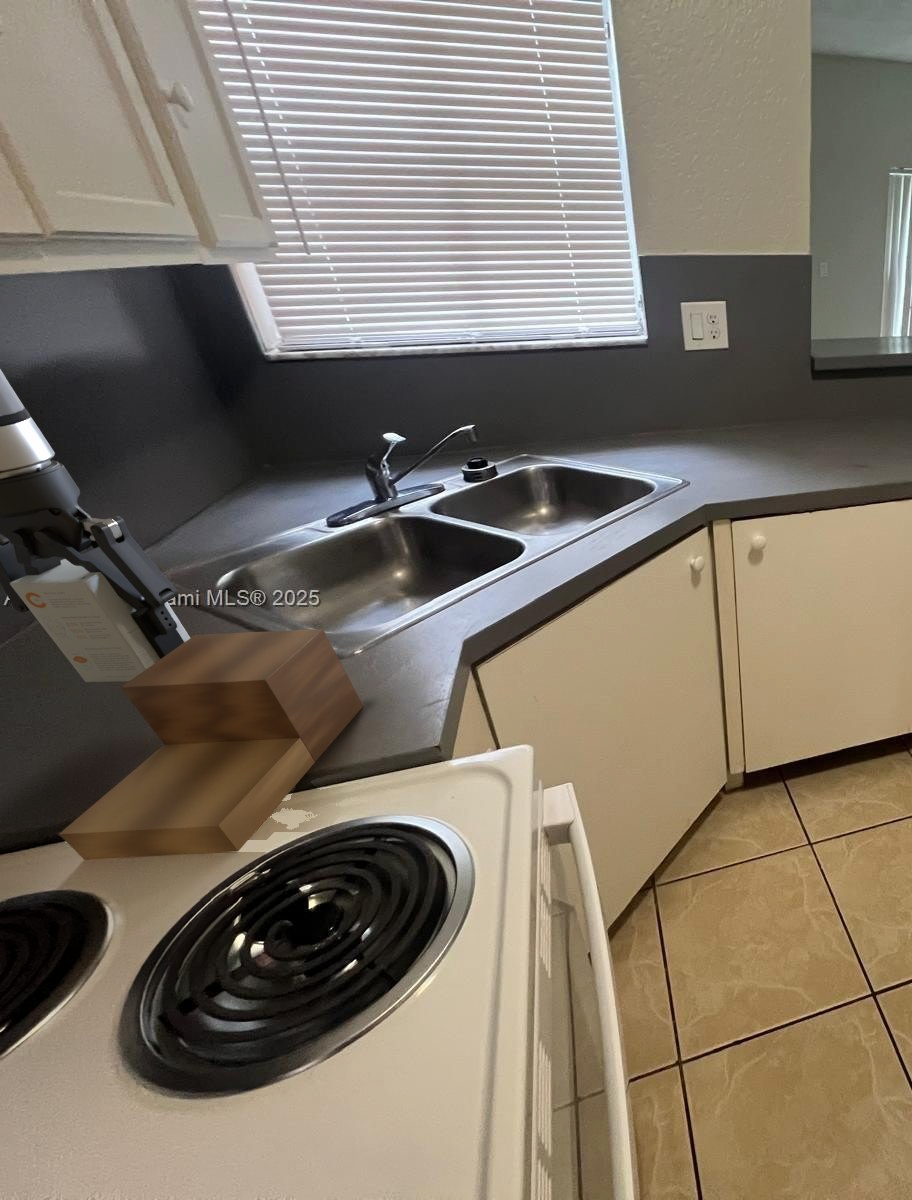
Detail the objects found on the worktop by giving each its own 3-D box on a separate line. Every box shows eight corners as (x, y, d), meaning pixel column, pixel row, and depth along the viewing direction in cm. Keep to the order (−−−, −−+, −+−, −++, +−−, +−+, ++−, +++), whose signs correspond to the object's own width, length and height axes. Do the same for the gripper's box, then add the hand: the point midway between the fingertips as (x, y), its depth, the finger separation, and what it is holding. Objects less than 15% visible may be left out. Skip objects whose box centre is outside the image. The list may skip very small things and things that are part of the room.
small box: (200, 649, 76) (139, 553, 70) (153, 682, 71) (82, 581, 64) (134, 650, 76) (67, 555, 70) (83, 683, 71) (5, 583, 64)
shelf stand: (83, 859, 57) (-2, 773, 51) (245, 712, 74) (194, 634, 68) (238, 851, 57) (170, 764, 51) (363, 706, 74) (323, 628, 68)
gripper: (146, 453, 65) (252, 635, 76) (-60, 460, 64) (77, 642, 76) (76, 478, 58) (203, 673, 70) (-153, 486, 58) (13, 680, 70)
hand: (137, 657), depth 73 cm, fingers closed on small box, 8 cm apart
